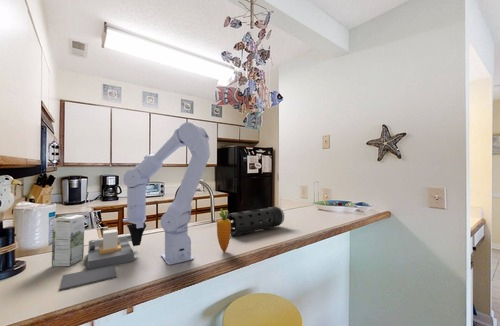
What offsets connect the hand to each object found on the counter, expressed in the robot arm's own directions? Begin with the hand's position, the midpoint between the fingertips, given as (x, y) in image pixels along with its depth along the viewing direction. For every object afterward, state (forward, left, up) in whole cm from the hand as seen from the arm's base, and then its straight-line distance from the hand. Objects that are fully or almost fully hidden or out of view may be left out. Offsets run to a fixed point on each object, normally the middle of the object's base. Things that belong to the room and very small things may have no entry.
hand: (136, 245), depth 79 cm
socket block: (+3, +7, -3) cm, 9 cm away
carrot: (-15, -26, -3) cm, 30 cm away
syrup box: (+5, +19, -3) cm, 20 cm away
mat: (-11, +13, -3) cm, 17 cm away
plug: (+3, +7, -3) cm, 9 cm away
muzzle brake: (0, -51, -4) cm, 51 cm away
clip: (+6, +6, -1) cm, 8 cm away
